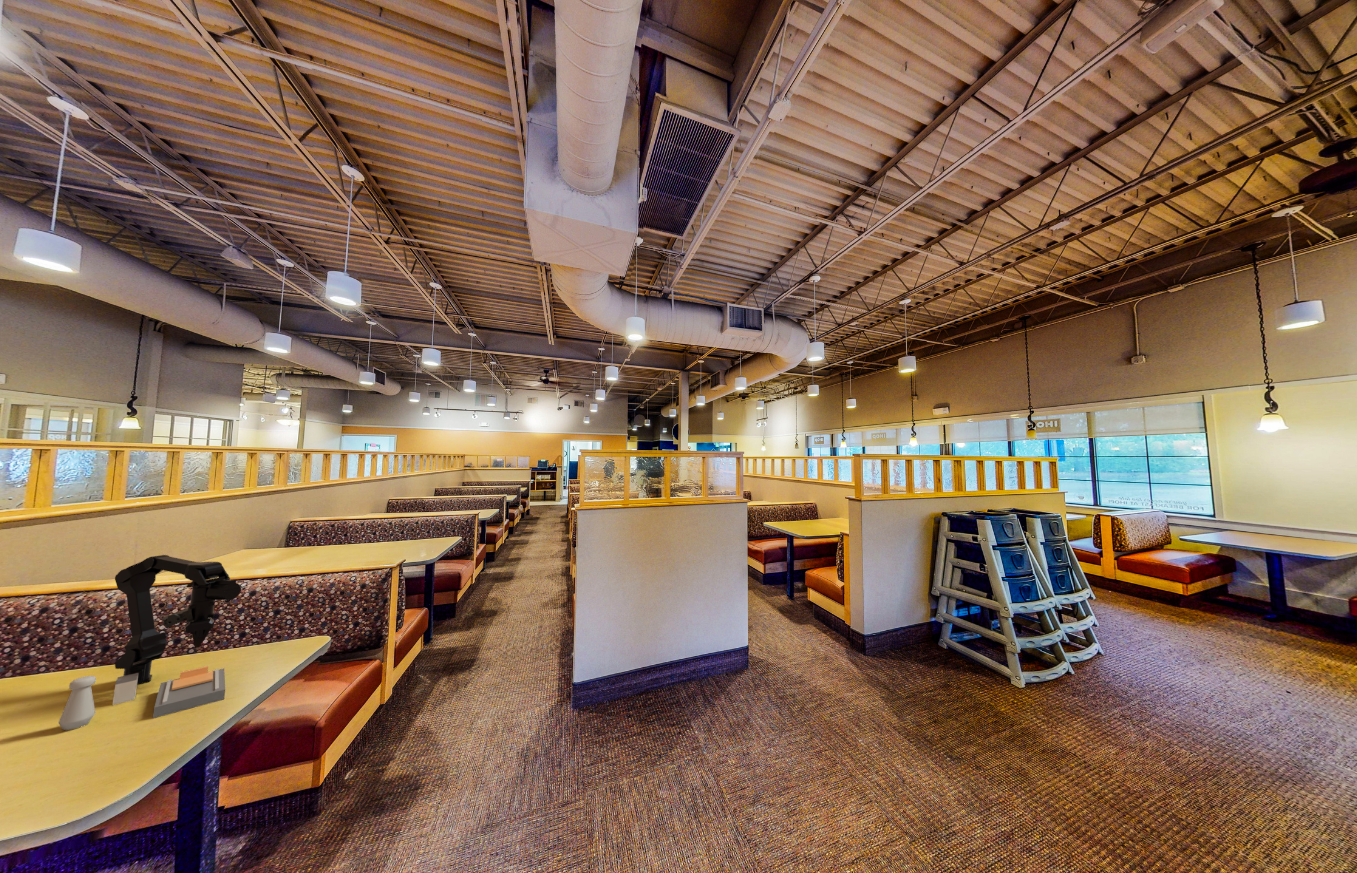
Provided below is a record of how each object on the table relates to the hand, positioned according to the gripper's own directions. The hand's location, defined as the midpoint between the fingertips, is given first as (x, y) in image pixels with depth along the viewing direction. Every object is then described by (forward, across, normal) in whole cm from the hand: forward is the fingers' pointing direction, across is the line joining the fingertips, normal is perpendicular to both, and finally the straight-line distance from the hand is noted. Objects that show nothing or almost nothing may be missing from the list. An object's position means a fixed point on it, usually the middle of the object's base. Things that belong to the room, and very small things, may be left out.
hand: (197, 646), depth 141 cm
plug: (+12, +1, -14) cm, 19 cm away
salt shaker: (+12, +14, -21) cm, 28 cm away
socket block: (+12, +13, 0) cm, 18 cm away
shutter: (+9, +9, 0) cm, 13 cm away
